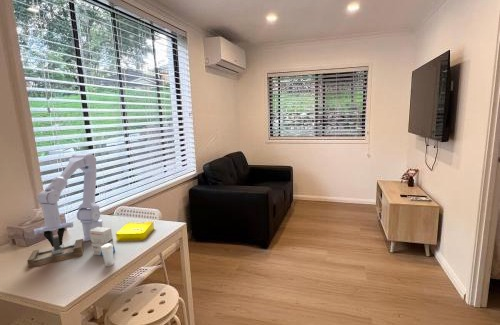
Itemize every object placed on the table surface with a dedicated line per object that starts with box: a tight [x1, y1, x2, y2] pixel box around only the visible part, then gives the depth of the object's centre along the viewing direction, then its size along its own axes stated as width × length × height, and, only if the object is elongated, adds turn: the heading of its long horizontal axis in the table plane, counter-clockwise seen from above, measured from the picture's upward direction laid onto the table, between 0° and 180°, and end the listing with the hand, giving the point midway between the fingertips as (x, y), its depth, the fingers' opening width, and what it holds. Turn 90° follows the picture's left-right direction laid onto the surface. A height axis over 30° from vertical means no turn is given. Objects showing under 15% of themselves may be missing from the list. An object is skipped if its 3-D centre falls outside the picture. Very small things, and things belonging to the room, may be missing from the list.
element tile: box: [115, 221, 155, 242], centre depth 149 cm, size 15×15×5 cm
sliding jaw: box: [51, 235, 66, 256], centre depth 129 cm, size 4×6×7 cm, turn 26°
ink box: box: [89, 226, 116, 256], centre depth 129 cm, size 9×5×12 cm, turn 71°
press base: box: [27, 238, 85, 268], centre depth 129 cm, size 20×10×4 cm, turn 116°
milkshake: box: [98, 243, 115, 267], centre depth 119 cm, size 4×5×10 cm
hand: (57, 245), depth 129 cm, fingers closed on sliding jaw, 2 cm apart
